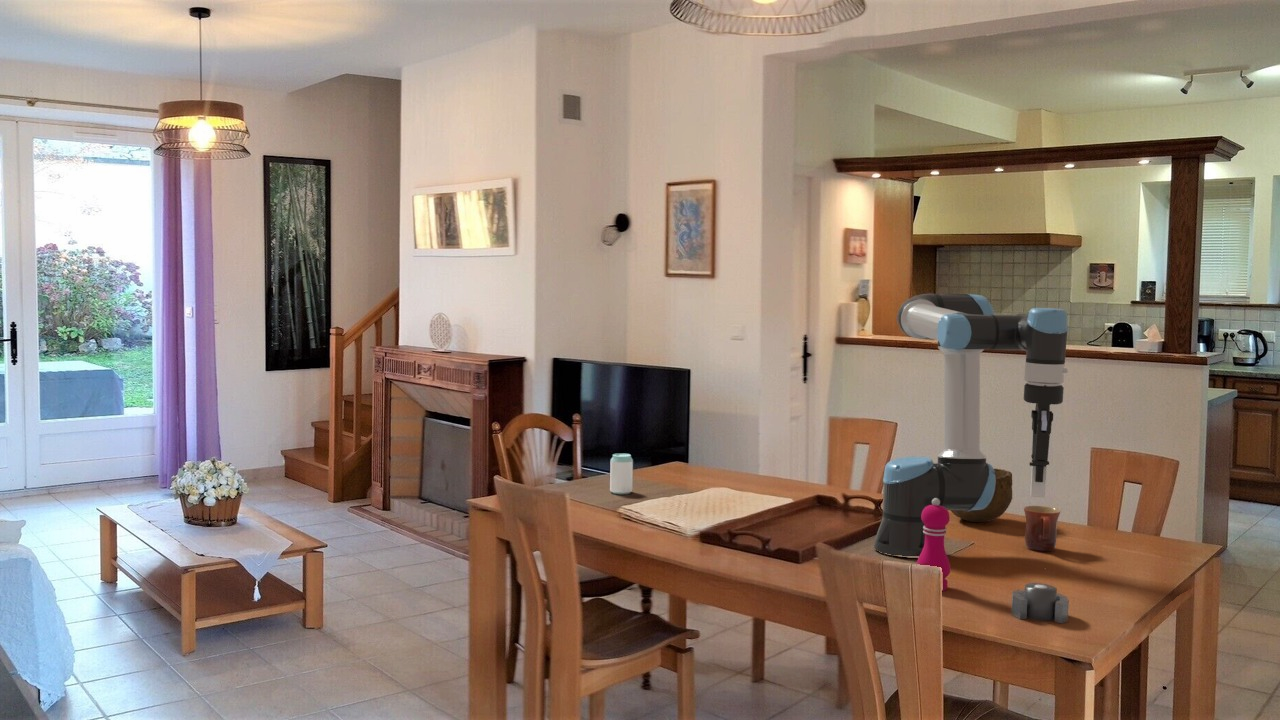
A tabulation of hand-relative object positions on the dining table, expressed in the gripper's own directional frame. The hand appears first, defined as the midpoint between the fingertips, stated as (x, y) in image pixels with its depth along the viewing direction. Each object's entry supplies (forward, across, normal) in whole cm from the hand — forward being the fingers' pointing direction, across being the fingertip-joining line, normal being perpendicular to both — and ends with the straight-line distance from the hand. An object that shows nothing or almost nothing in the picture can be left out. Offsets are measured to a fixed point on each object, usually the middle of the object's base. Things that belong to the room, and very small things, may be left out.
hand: (1037, 496), depth 213 cm
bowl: (+25, +77, +10) cm, 82 cm away
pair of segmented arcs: (+23, -7, -1) cm, 24 cm away
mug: (+25, +49, -6) cm, 55 cm away
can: (+26, +77, +116) cm, 141 cm away
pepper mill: (+24, +6, +20) cm, 32 cm away
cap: (+23, -7, -1) cm, 24 cm away
